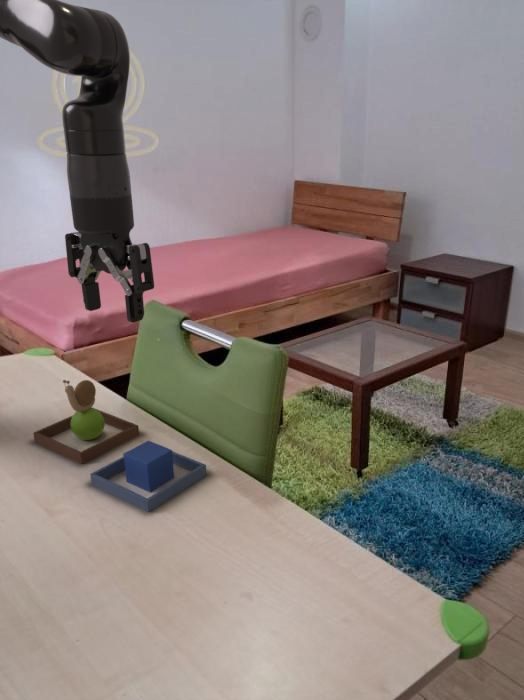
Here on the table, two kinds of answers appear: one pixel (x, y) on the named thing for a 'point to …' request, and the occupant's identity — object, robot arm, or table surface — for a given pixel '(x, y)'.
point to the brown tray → (81, 457)
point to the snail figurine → (84, 410)
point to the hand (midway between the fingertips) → (113, 315)
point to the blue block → (148, 466)
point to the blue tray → (158, 498)
